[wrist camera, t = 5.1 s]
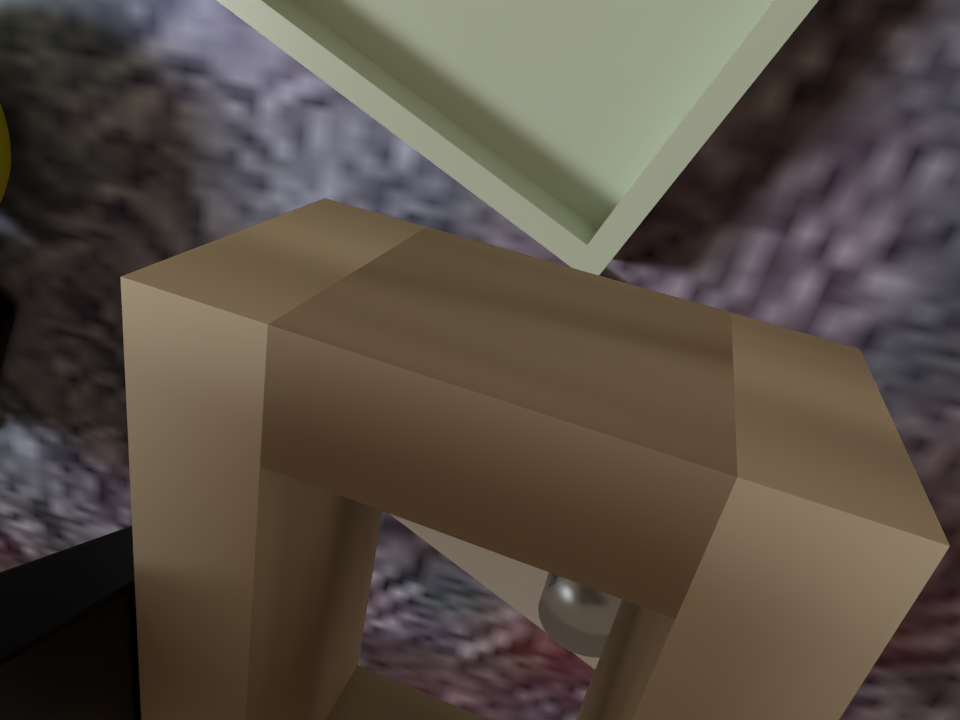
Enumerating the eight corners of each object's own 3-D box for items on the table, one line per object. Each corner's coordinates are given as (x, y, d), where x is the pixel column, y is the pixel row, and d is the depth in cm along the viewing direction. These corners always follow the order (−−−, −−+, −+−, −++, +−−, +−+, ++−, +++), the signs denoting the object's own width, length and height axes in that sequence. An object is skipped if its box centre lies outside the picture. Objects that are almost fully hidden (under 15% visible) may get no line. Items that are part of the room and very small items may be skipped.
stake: (643, 694, 22) (626, 838, 18) (388, 502, 22) (315, 602, 18) (903, 502, 17) (959, 641, 13) (576, 256, 17) (532, 320, 13)
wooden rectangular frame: (325, 198, 8) (119, 276, 5) (860, 349, 7) (951, 547, 4) (275, 757, 12) (152, 954, 9) (592, 901, 11) (551, 1167, 8)
